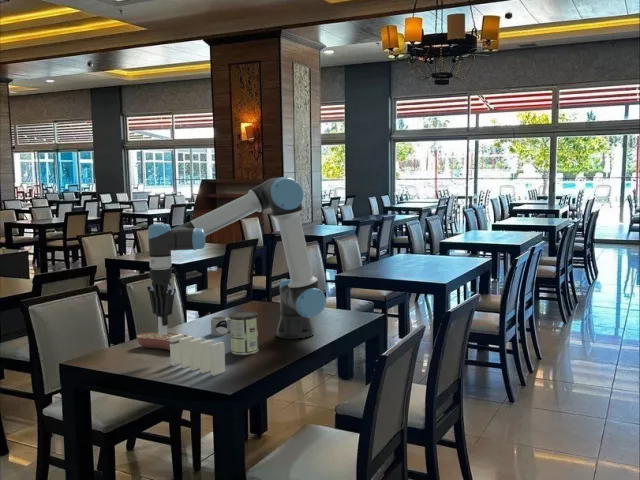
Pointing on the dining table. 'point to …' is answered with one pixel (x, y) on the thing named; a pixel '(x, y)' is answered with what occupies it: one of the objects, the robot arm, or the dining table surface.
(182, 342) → the domino
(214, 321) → the mug
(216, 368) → the domino
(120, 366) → the dining table surface
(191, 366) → the domino
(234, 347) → the coffee can
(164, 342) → the brown low oblong piece
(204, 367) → the domino
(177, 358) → the domino
